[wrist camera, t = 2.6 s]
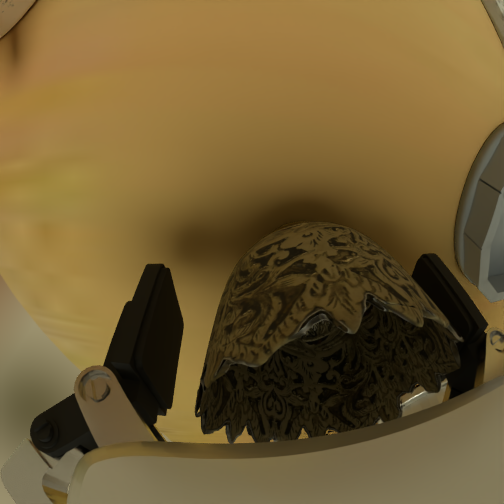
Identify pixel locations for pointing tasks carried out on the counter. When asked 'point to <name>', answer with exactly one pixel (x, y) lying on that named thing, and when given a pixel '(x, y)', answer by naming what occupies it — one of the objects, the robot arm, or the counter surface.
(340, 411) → the dark rounded textured piece
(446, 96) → the counter surface
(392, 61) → the counter surface
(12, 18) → the teacup with lid
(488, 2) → the packaged product
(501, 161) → the blue-grey plate
